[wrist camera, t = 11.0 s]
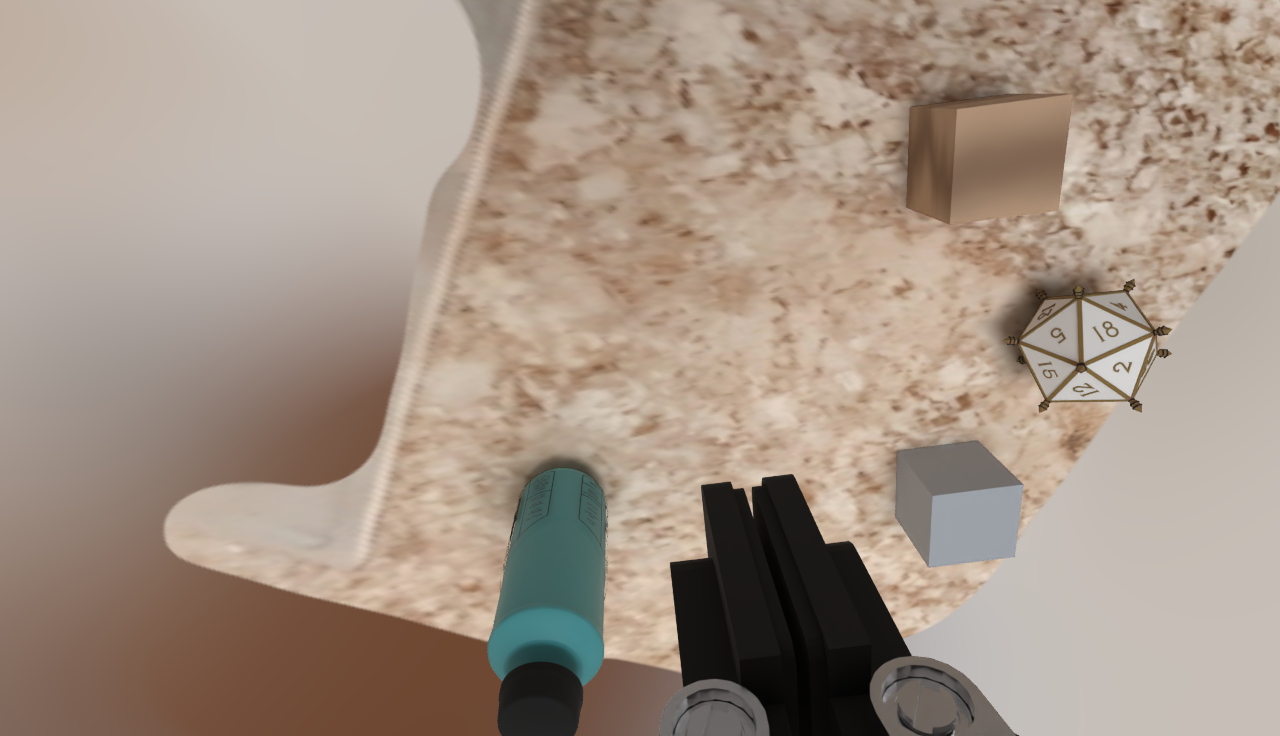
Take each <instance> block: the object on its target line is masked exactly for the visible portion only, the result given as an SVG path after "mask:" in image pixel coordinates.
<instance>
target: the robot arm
mask: <svg viewBox="0 0 1280 736" xmlns="http://www.w3.org/2000/svg"><path fill="white" fill-rule="evenodd" d="M701 491H702V501H703V511H704V521H705V531H706V541H707V550H708V558H704V559H696V560H687V561H679V562H670V569H671V578H672V587H673V596H674V605H675V615H676V624H677V633H678V642H679V651H680V660H681V669H682V678H683V688H682V689H681V690H680V691H678V692H677V693H676V694H675V695H673V696H672V698H671V699H670V701H669V702H668V704H667V705H666V707H665V708H664V711H663V715H662V718H661V722H660V730H659V736H1019V735H1017V734H1015V733H1014V732H1013V731H1012V730H1011V729H1010V727H1009V726H1008V725H1007V724H1006V722H1005V721H1004V720H1003V719H1002V717H1001V716H1000V715H999V714H998V712H997V711H996V710H995V709H994V707H993V706H992V705H991V704H990V702H989V701H988V700H987V699H986V697H985V696H984V695H983V694H982V692H981V691H980V690H979V689H978V687H977V686H976V685H975V684H974V683H973V682H972V681H971V680H970V679H969V678H967V677H966V676H965V675H964V674H963V673H961V672H960V671H958V670H956V669H955V668H953V667H952V666H950V665H948V664H946V663H943V662H940V661H937V660H934V659H931V658H926V657H918V656H911V653H910V652H909V650H908V648H907V646H906V644H905V642H904V640H903V638H902V636H901V634H900V632H899V630H898V629H897V627H896V625H895V623H894V621H893V619H892V617H891V615H890V613H889V611H888V609H887V607H886V606H885V604H884V602H883V600H882V598H881V596H880V594H879V592H878V590H877V588H876V586H875V584H874V583H873V581H872V579H871V577H870V575H869V573H868V571H867V569H866V567H865V565H864V563H863V562H862V560H861V558H860V556H859V554H858V552H857V550H856V548H855V547H854V545H853V544H852V543H851V542H849V541H846V542H838V543H830V544H825V542H824V540H823V538H822V535H821V533H820V531H819V529H818V527H817V525H816V522H815V520H814V518H813V516H812V514H811V512H810V509H809V507H808V505H807V503H806V501H805V498H804V496H803V494H802V492H801V490H800V488H799V485H798V483H797V481H796V479H795V477H794V475H792V474H789V475H781V476H772V477H764V478H762V486H756V487H752V503H753V516H752V513H751V510H750V506H749V503H748V500H747V497H746V494H745V491H744V489H743V488H740V489H733V487H732V484H731V482H723V483H715V484H707V485H701Z"/></svg>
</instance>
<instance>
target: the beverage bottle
mask: <svg viewBox="0 0 1280 736" xmlns="http://www.w3.org/2000/svg"><path fill="white" fill-rule="evenodd" d="M528 483H529V482H528ZM528 483H527V484H528ZM527 484H526V485H527ZM602 491H603V490H602V489H601V488H600V486H599V485H598V484H597V483H596V482H595V481H594V480H593V479H592V478H591V477H590V476H588V475H587V474H585V473H583V472H581V471H578V470H575V469H570V468H555V469H550V470H547V471H545V472H542V473H541V474H539V475H537V476H536V477H535V478H533V479H532V480H531V481H530V483H529V484H528V485H527V486H526V488H525V489H524V490H523V494H522V493H521V494H522V496H521V498H520V499H518V500H519V501H518V502H519V504H518V505H517V506H518V507H517V511H516V512H515V513H516V514H515V516H514V517H515V518H514V523H515V527H514V523H513V527H512V531H511V536H512V534H513V536H512V540H511V536H510V541H511V544H508V545H510V549H509V552H508V553H507V552H506V553H507V554H506V555H507V556H508V558H507V562H506V566H504V564H503V567H504V568H503V571H504V569H505V571H504V575H503V582H502V588H501V591H500V597H499V602H498V606H497V611H496V615H495V620H494V625H493V629H492V632H491V635H490V638H489V641H488V649H487V650H488V658H489V662H490V664H491V667H492V668H493V670H494V672H495V673H496V674H497V676H498V677H499V678H500V679H501V680H502V681H503V682H502V684H501V688H500V693H499V710H498V720H497V721H498V728H499V731H500V733H501V735H502V736H574V735H575V733H576V731H577V728H578V723H579V716H580V710H581V707H582V702H583V687H582V686H584V685H585V684H586V683H588V682H589V681H590V680H591V679H592V678H593V677H594V676H595V674H596V673H597V672H598V670H599V668H600V666H601V664H602V661H603V657H604V641H603V620H604V599H605V598H604V587H605V579H606V578H605V574H606V573H605V571H607V570H605V560H606V559H605V530H606V526H607V525H608V524H607V525H606V522H607V521H606V518H608V516H607V517H606V508H607V507H606V504H608V503H607V502H606V503H605V497H606V496H605V497H604V495H605V494H603V493H604V492H602ZM521 492H522V491H521ZM606 500H607V499H606ZM607 512H608V511H607ZM607 514H608V513H607ZM515 521H516V522H515ZM513 528H514V531H513ZM512 532H513V533H512ZM606 532H607V530H606ZM607 537H608V536H607ZM509 543H510V542H509ZM607 546H608V545H607ZM507 549H508V546H507ZM507 556H506V557H507ZM504 560H505V559H504ZM607 563H608V562H607ZM606 565H607V564H606ZM607 566H608V565H607ZM606 568H607V567H606ZM607 573H608V572H607ZM500 580H501V579H500ZM607 583H608V582H607ZM606 591H607V590H606ZM605 595H606V594H605Z"/></svg>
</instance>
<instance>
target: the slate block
mask: <svg viewBox="0 0 1280 736" xmlns="http://www.w3.org/2000/svg"><path fill="white" fill-rule="evenodd" d="M1022 492H1023V484H1022V483H1021V482H1020V481H1019V480H1018V479H1017V478H1016V477H1015V476H1014V475H1013V474H1012V473H1011V472H1010V471H1009V470H1008V469H1007V468H1006V467H1005V466H1004V465H1003V464H1002V463H1001V462H1000V461H999V460H997V459H996V458H995V457H994V456H993V455H992V454H991V453H990V452H989V451H988V450H987V449H986V448H985V447H984V446H983V445H982V444H981V443H980V442H979V441H970V442H962V443H954V444H946V445H938V446H931V447H923V448H915V449H907V450H899V451H897V476H896V510H895V517H896V519H897V520H898V522H899V523H900V525H901V526H902V528H903V529H904V531H905V532H906V534H907V535H908V537H909V538H910V540H911V542H912V543H913V545H914V546H915V548H916V549H917V551H918V552H919V554H920V555H921V557H922V558H923V560H924V561H925V563H926V564H927V566H928V567H929V568H930V567H938V566H946V565H954V564H962V563H970V562H978V561H986V560H994V559H1002V558H1010V557H1015V550H1016V542H1017V534H1018V526H1019V517H1020V509H1021V500H1022Z"/></svg>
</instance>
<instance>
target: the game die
mask: <svg viewBox="0 0 1280 736" xmlns="http://www.w3.org/2000/svg"><path fill="white" fill-rule="evenodd" d="M1134 287H1136V286H1135V279H1133V280H1131V281H1128V282H1126V285H1124V289H1123V290H1119V291H1109V292H1099V293H1089V294H1084V291H1083V290H1084V288H1081V287H1080V286H1078V285H1077V286H1076V288H1075V289H1073V292H1074V295H1068V296H1058V297H1047V295H1046V293H1045V292H1044V290H1043V291H1042V290H1038V289H1037V295H1036V297H1037V296H1038V297H1039V298H1038V299H1041V300H1042V303H1041V305H1040V306H1039V308H1038V309H1037V311H1036V312H1035V314H1034V315H1033V317H1032V318H1031V320H1030V321H1029V323H1028V324H1027V326H1026V328H1025V329H1024V331H1023V332H1022V334H1021V335H1020V337H1019V338H1018V339H1016V338H1014V337H1010V336H1009V337H1008V338H1006V339H1004V340H1003V341H1004V342H1006V343H1007V345H1010V344H1011V345H1014V344H1017V345H1018V347H1019V349H1020V351H1021V353H1022V355H1023V357H1019V359H1018V360H1017V361H1018V362H1020V363H1021V364H1024V363H1025V364H1026V363H1027V365H1028V367H1029V369H1030V371H1031V373H1032V375H1033V377H1034V379H1035V381H1036V383H1037V385H1038V387H1039V389H1040V391H1041V393H1042V395H1043V397H1044V399H1045V400H1044V401H1043V402H1041V404H1040V405H1038V406H1039V413H1040V412H1043V411H1045V410H1047V408H1048V407H1049V403H1051V402H1114V401H1129V402H1130V406H1132V407H1133V410H1137V411H1139V412H1142V404H1140V403H1139V401H1137V400H1135V399H1134V397H1135V395H1136V393H1137V391H1138V390H1139V387H1140V386H1141V384H1142V382H1143V380H1144V378H1145V376H1146V375H1147V373H1148V371H1149V369H1150V367H1151V365H1152V363H1153V361H1154V360H1155V358H1156V356H1159V357H1164V358H1166V357H1167V356H1169V355H1171V354H1172V353H1170V352H1169V351H1168V350H1166V349H1159V350H1157V335H1159V336H1162V335H1168V333H1169V332H1170V331H1171V330H1172V329H1170V328H1167V327H1165V326H1162V327H1158V329H1156V330H1155V329H1154V327H1153V326H1152V325H1151V323H1150V322H1149V320H1148V319H1147V318H1146V316H1145V315H1144V314H1143V312H1142V311H1141V309H1140V308H1139V307H1138V305H1137V304H1136V303H1135V301H1134V300H1133V298H1132V297H1131V296H1130V294H1129V291H1131V290H1133V288H1134Z"/></svg>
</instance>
